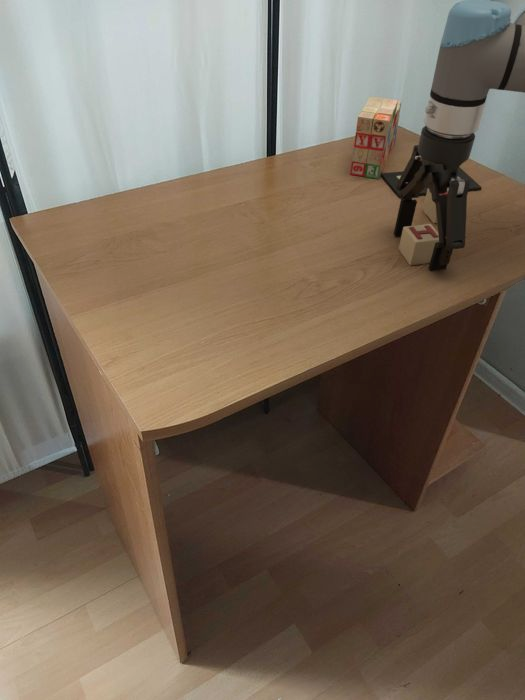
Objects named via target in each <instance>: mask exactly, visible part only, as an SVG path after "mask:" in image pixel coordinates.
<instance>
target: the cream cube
mask: <svg viewBox="0 0 525 700" xmlns="http://www.w3.org/2000/svg"><path fill="white" fill-rule="evenodd" d="M436 242H439V235H438V230H436V228H435V227H434V226H433V225H432V223H426V224H417V225H411V226H406V227H403V231H402V235H401V236H400V241H399V245H398V251H399V252H400V253H401V255H402V256H403V258H404V259H405V261H406V262H407V263H408V265H409V266H415V265H416V266H417V265H425V264H430V261H431V257H432V253H433V250H434V246H435V243H436Z"/></svg>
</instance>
